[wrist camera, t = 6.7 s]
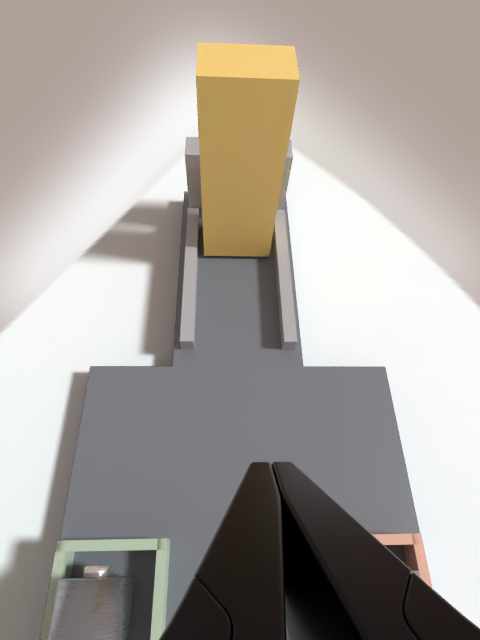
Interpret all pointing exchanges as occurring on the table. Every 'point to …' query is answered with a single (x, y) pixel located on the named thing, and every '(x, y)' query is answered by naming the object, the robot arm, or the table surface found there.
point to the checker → (223, 429)
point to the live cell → (92, 606)
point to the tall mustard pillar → (243, 142)
